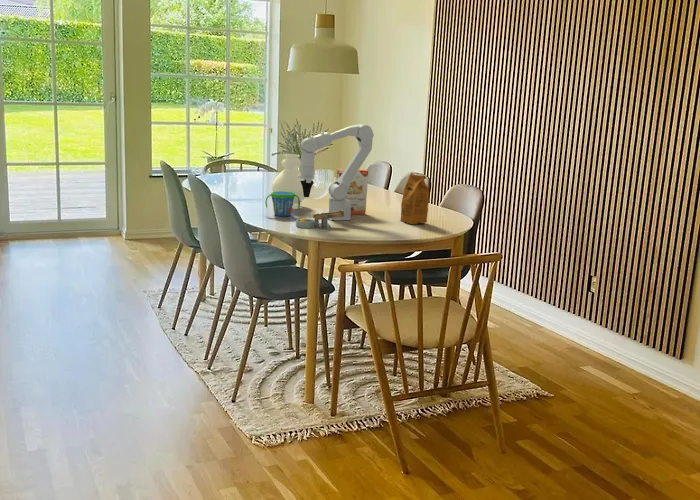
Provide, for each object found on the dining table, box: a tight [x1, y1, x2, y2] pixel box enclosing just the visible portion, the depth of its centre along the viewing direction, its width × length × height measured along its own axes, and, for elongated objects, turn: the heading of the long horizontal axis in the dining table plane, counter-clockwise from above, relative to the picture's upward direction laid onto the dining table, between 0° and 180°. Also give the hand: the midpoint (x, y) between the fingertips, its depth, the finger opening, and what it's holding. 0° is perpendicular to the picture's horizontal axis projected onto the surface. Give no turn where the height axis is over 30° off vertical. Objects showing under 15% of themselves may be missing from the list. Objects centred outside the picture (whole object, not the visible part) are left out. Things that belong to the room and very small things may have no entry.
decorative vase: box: [271, 153, 306, 210], centre depth 359 cm, size 18×18×25 cm
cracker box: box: [335, 168, 369, 216], centre depth 349 cm, size 14×6×21 cm, turn 105°
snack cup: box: [264, 191, 301, 217], centre depth 337 cm, size 16×10×10 cm
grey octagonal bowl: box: [295, 218, 315, 229], centre depth 316 cm, size 7×7×2 cm
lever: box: [311, 209, 344, 221], centre depth 319 cm, size 12×12×3 cm
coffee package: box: [400, 172, 430, 225], centre depth 334 cm, size 10×12×22 cm
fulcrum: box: [313, 216, 332, 229], centre depth 317 cm, size 7×9×5 cm
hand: (306, 197), depth 329 cm, fingers closed
